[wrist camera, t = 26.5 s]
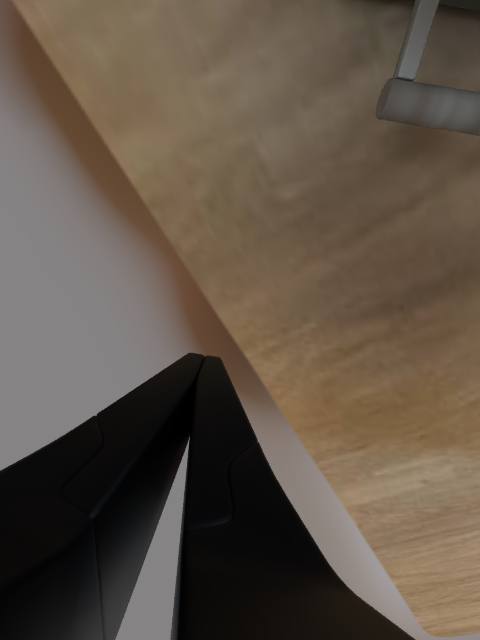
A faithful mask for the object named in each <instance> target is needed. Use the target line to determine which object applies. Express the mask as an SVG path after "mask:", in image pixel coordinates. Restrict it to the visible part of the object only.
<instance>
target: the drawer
mask: <svg viewBox="0 0 480 640" xmlns="http://www.w3.org/2000/svg"><path fill="white" fill-rule="evenodd" d="M439 4H441V5H447V6H453V7H459V8H465V9H471V10H477V11H480V0H415V3H414V7H413V10H412V14H411V17H410V20H409V24H408V27H407V31H406V34H405V38H404V41H403V45H402V48H401V51H400V55H399V58H398V62H397V65H396V69H395V72H394V76H393V78H391V79H389V80H388V81H387V82H386V84H385V86H384V88H383V90H382V92H381V94H380V97H379V101H378V104H377V110H376V117H377V118H378V119H381V120H388V121H394V122H400V123H406V124H412V125H418V126H424V127H430V128H436V129H442V130H448V131H454V132H460V133H466V134H472V135H478V136H480V93H479V92H473V91H467V90H461V89H455V88H449V87H443V86H437V85H431V84H425V83H419V82H413V80H414V79H415V78H416V74H417V71H418V68H419V65H420V62H421V59H422V55H423V52H424V49H425V46H426V43H427V40H428V36H429V33H430V30H431V27H432V24H433V21H434V17H435V14H436V11H437V8H438V5H439Z"/></svg>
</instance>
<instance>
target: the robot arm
mask: <svg viewBox="0 0 480 640" xmlns="http://www.w3.org/2000/svg"><path fill="white" fill-rule="evenodd" d="M189 437H190V440H189ZM188 440H189V450H188V460H187V472H186V481H185V492H184V502H183V514H182V523H181V524H182V525H181V534H180V545H179V555H178V566H177V576H176V587H175V597H174V608H173V618H172V629H171V640H415V639H414V638H413V637H411V636H410V635H408V634H407V633H406V632H405V631H403V630H402V629H401V628H399V627H398V626H397V625H395V624H394V623H393V622H391V621H390V620H389V619H387V618H386V617H385V616H383V615H382V614H381V613H379V612H378V611H377V610H375V609H374V608H373V607H371V606H370V605H369V604H367V603H366V602H365V601H363V600H362V599H361V598H360V597H358V596H357V595H356V594H355V593H354V592H353V591H352V590H350V589H349V588H348V587H347V586H346V584H345V583H344V582H343V581H342V580H341V579H340V578H339V576H338V575H337V574H336V573H335V571H334V570H333V569H332V567H331V566H330V565H329V563H328V562H327V560H326V559H325V557H324V555H323V554H322V552H321V551H320V549H319V548H318V546H317V544H316V543H315V541H314V539H313V538H312V536H311V535H310V533H309V531H308V530H307V528H306V526H305V525H304V523H303V522H302V520H301V519H300V517H299V515H298V514H297V512H296V510H295V509H294V507H293V505H292V504H291V502H290V501H289V499H288V497H287V496H286V494H285V492H284V491H283V489H282V487H281V486H280V484H279V482H278V480H277V479H276V477H275V475H274V473H273V471H272V469H271V467H270V465H269V463H268V461H267V459H266V457H265V455H264V453H263V451H262V448H261V446H260V444H259V442H258V440H257V438H256V435H255V433H254V431H253V429H252V427H251V424H250V422H249V420H248V418H247V415H246V413H245V411H244V409H243V406H242V405H241V402H240V400H239V398H238V395H237V393H236V391H235V389H234V386H233V384H232V382H231V380H230V378H229V375H228V373H227V371H226V369H225V366H224V364H223V362H222V360H221V358H220V357H214V356H205V357H204V355H202V354H196V353H188V354H187V355H185V356H184V357H182V358H181V359H179V360H178V361H176V362H175V363H173V364H172V365H170V366H169V367H167V368H165V369H164V370H162V371H161V372H159V373H158V374H156V375H155V376H153V377H152V378H150V379H149V380H147V381H146V382H144V383H143V384H141V385H140V386H138V387H137V388H135V389H134V390H132V391H131V392H129V393H128V394H126V395H125V396H123V397H122V398H120V399H119V400H117V401H116V402H114V403H113V404H111V405H110V406H108V407H107V408H105V409H104V410H102V411H101V412H99V413H98V414H97V416H93V417H91V418H90V419H88V420H87V421H85V422H84V423H82V424H81V425H79V426H78V427H76V428H74V429H73V430H71V431H70V432H68V433H66V434H65V435H63V436H62V437H60V438H58V439H57V440H55V441H53V442H52V443H50V444H48V445H46V446H44V447H43V448H41V449H39V450H37V451H36V452H34V453H32V454H31V455H29V456H27V457H25V458H23V459H21V460H19V461H17V462H16V463H14V464H12V465H10V466H8V467H6V468H5V469H3V470H1V471H0V640H115V639H116V636H117V633H118V631H119V628H120V625H121V622H122V620H123V617H124V614H125V612H126V609H127V606H128V603H129V601H130V598H131V595H132V593H133V590H134V587H135V584H136V582H137V579H138V576H139V574H140V571H141V568H142V566H143V563H144V560H145V557H146V554H147V552H148V549H149V547H150V544H151V541H152V538H153V536H154V533H155V530H156V528H157V524H158V522H159V519H160V517H161V514H162V511H163V509H164V506H165V503H166V500H167V498H168V495H169V492H170V490H171V487H172V484H173V482H174V479H175V476H176V473H177V471H178V468H179V465H180V463H181V460H182V457H183V454H184V452H185V449H186V446H187V443H188Z"/></svg>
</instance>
